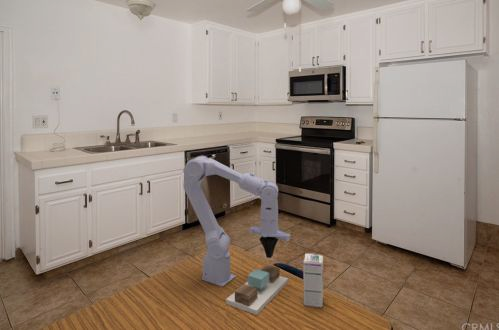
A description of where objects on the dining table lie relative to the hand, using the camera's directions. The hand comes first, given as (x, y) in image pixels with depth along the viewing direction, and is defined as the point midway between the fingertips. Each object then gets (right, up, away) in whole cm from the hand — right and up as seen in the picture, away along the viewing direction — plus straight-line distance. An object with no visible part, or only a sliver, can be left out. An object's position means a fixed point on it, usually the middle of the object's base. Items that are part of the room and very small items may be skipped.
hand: (269, 256), depth 109 cm
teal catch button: (-4, -7, -5) cm, 10 cm away
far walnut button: (0, -8, +1) cm, 8 cm away
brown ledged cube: (-8, -10, -11) cm, 17 cm away
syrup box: (+13, -11, -10) cm, 20 cm away
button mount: (-4, -10, -5) cm, 12 cm away
